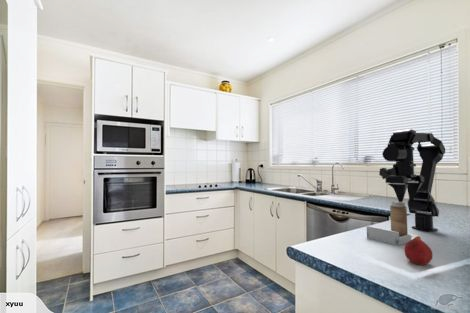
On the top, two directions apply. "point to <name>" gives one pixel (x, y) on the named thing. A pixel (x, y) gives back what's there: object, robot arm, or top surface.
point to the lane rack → (388, 235)
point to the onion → (418, 251)
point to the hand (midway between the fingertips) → (406, 200)
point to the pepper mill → (399, 218)
